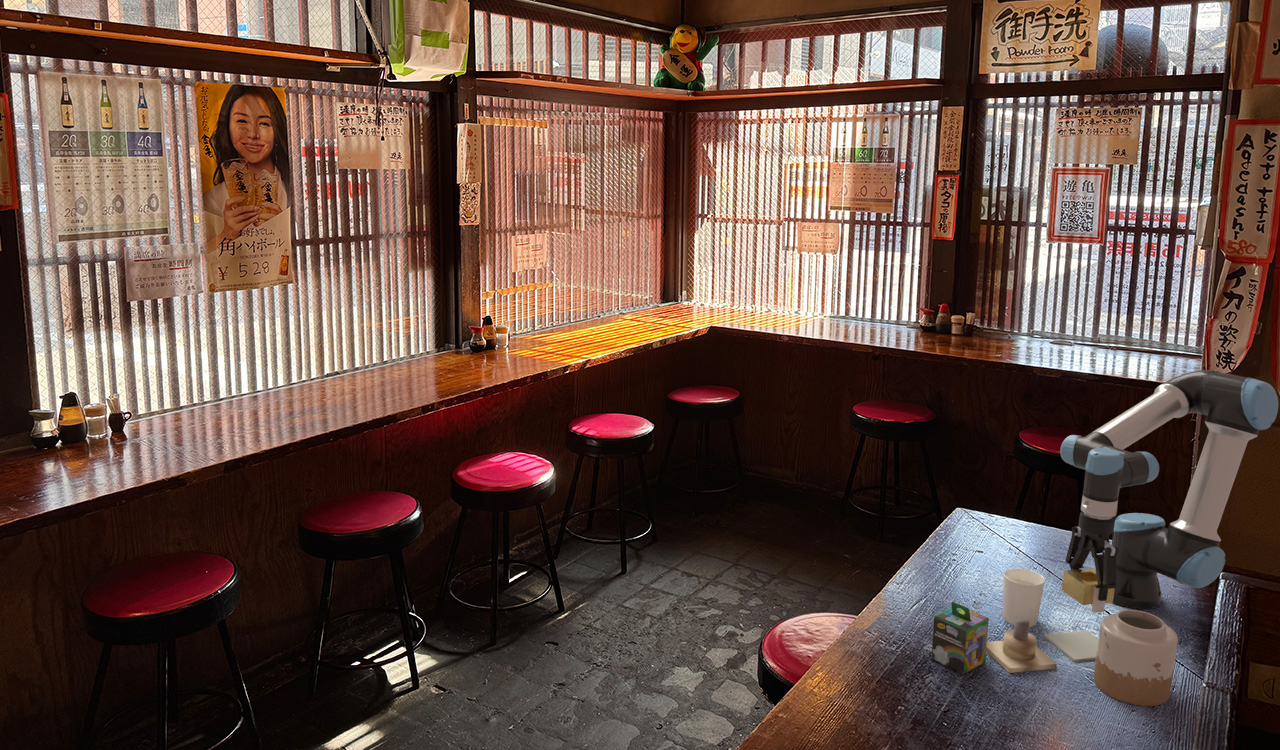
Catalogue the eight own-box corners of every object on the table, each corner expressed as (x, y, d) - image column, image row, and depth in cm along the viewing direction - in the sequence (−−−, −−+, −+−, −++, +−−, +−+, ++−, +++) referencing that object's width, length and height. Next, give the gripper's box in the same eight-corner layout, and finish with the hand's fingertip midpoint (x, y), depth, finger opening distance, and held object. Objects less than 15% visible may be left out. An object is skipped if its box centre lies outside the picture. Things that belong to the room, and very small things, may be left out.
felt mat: (1087, 632, 234) (1087, 630, 234) (1119, 657, 223) (1119, 655, 223) (1043, 636, 232) (1044, 634, 232) (1074, 661, 221) (1074, 659, 221)
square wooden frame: (1091, 587, 229) (1093, 568, 228) (1112, 602, 221) (1115, 583, 220) (1061, 589, 227) (1063, 570, 226) (1082, 604, 220) (1084, 585, 219)
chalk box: (986, 663, 220) (992, 605, 216) (963, 675, 214) (969, 616, 211) (952, 647, 227) (957, 590, 224) (929, 658, 221) (934, 601, 218)
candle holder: (1043, 630, 235) (1049, 587, 232) (1002, 626, 237) (1007, 583, 234) (1035, 612, 244) (1040, 570, 242) (996, 609, 246) (1000, 566, 243)
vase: (1081, 668, 218) (1090, 602, 214) (1148, 670, 217) (1158, 604, 214) (1111, 706, 203) (1121, 636, 199) (1183, 708, 202) (1194, 637, 199)
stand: (1026, 642, 229) (1030, 607, 227) (1056, 668, 218) (1060, 631, 216) (981, 646, 227) (985, 610, 225) (1009, 673, 216) (1013, 635, 213)
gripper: (1056, 499, 229) (1045, 585, 234) (1113, 532, 209) (1100, 625, 214) (1084, 497, 230) (1072, 583, 235) (1142, 530, 210) (1129, 622, 215)
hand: (1085, 602), depth 225 cm, fingers closed on square wooden frame, 8 cm apart
